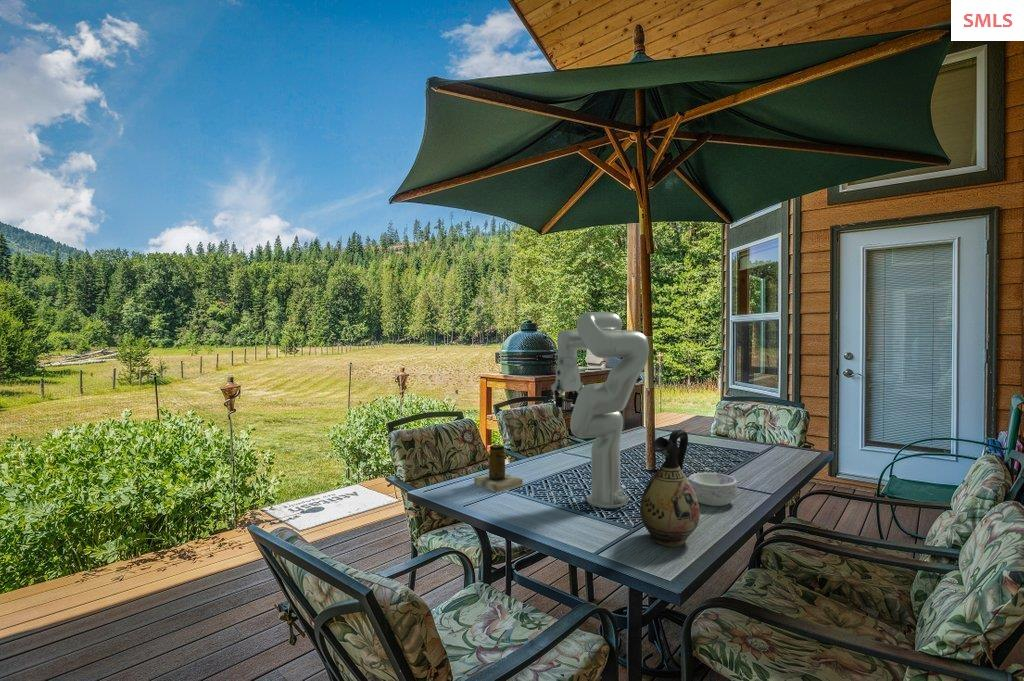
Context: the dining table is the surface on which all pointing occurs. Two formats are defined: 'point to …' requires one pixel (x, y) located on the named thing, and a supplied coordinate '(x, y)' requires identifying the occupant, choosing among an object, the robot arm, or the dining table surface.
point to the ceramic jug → (670, 496)
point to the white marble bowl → (713, 488)
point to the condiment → (497, 464)
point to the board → (498, 483)
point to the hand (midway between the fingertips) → (567, 405)
